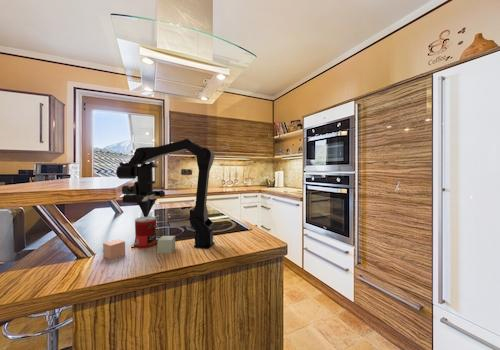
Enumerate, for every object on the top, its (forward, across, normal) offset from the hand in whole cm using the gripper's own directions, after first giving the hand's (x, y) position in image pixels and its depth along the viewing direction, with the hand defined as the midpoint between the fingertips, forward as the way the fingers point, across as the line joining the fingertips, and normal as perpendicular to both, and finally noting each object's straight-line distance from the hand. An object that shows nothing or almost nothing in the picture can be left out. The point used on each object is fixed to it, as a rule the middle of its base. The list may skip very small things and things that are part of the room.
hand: (145, 216), depth 89 cm
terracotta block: (+12, +12, -4) cm, 17 cm away
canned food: (+12, 0, 0) cm, 12 cm away
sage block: (+12, +4, +12) cm, 17 cm away
